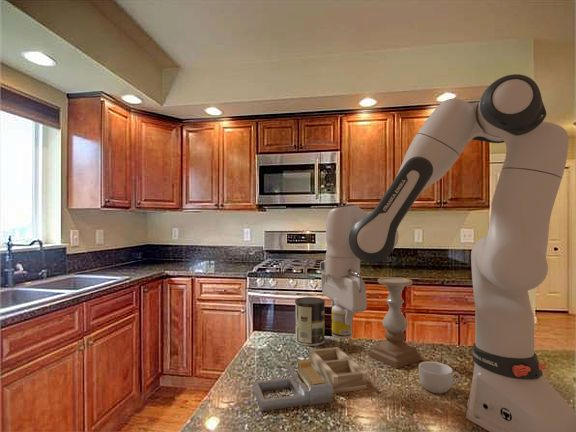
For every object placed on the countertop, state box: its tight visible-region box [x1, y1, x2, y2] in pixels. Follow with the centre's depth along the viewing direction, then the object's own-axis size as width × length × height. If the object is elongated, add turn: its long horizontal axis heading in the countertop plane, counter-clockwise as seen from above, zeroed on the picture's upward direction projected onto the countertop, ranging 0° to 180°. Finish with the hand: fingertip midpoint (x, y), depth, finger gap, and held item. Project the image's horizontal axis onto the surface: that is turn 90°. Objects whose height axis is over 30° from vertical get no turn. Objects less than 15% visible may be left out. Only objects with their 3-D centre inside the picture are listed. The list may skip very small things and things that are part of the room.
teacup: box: [418, 361, 462, 394], centre depth 88 cm, size 10×8×5 cm
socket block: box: [252, 363, 333, 412], centre depth 90 cm, size 20×17×4 cm
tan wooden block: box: [297, 358, 325, 389], centre depth 89 cm, size 12×3×5 cm, turn 16°
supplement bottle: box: [331, 298, 354, 340], centre depth 92 cm, size 5×5×10 cm
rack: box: [308, 346, 368, 395], centre depth 96 cm, size 18×9×4 cm, turn 16°
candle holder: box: [369, 276, 422, 369], centre depth 108 cm, size 11×11×24 cm
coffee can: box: [294, 296, 326, 347], centre depth 122 cm, size 10×10×14 cm
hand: (342, 320), depth 92 cm, fingers closed on supplement bottle, 5 cm apart
